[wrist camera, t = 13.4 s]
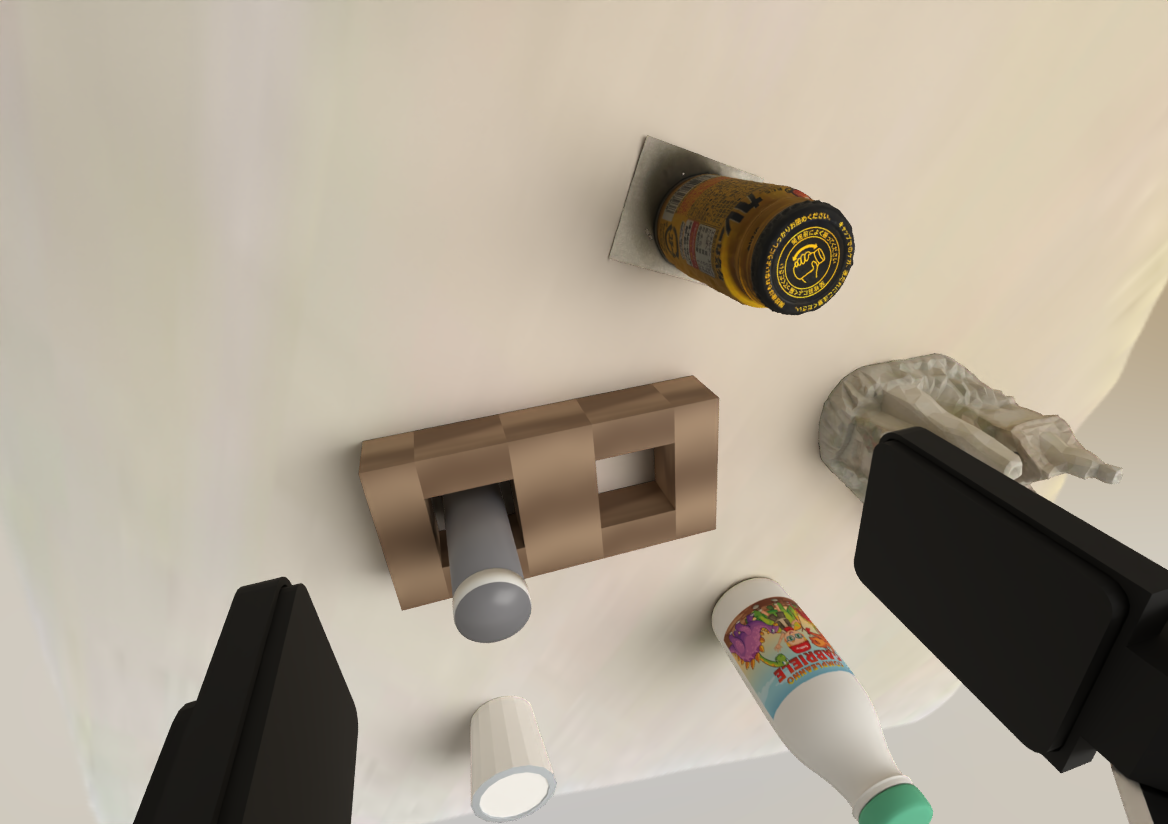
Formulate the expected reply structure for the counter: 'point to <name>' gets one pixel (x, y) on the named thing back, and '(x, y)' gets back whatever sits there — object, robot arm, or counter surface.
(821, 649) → the milk bottle
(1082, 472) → the gray stone sculpture
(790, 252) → the condiment
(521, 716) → the shot glass
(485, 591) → the grey rounded cylinder
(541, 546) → the socket block
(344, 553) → the counter surface
